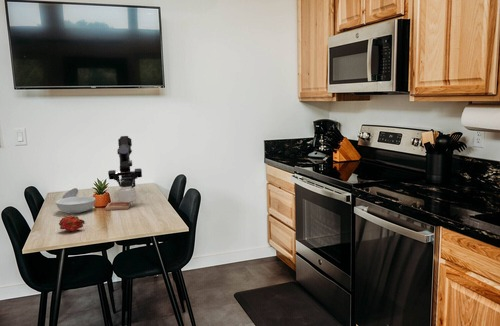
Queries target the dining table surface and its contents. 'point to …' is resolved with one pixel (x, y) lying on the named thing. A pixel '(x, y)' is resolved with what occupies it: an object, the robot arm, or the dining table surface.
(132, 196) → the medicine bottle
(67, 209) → the serving bowl
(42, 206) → the dining table surface
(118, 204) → the terracotta tray
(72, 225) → the dragon fruit
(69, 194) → the grey rounded lump
